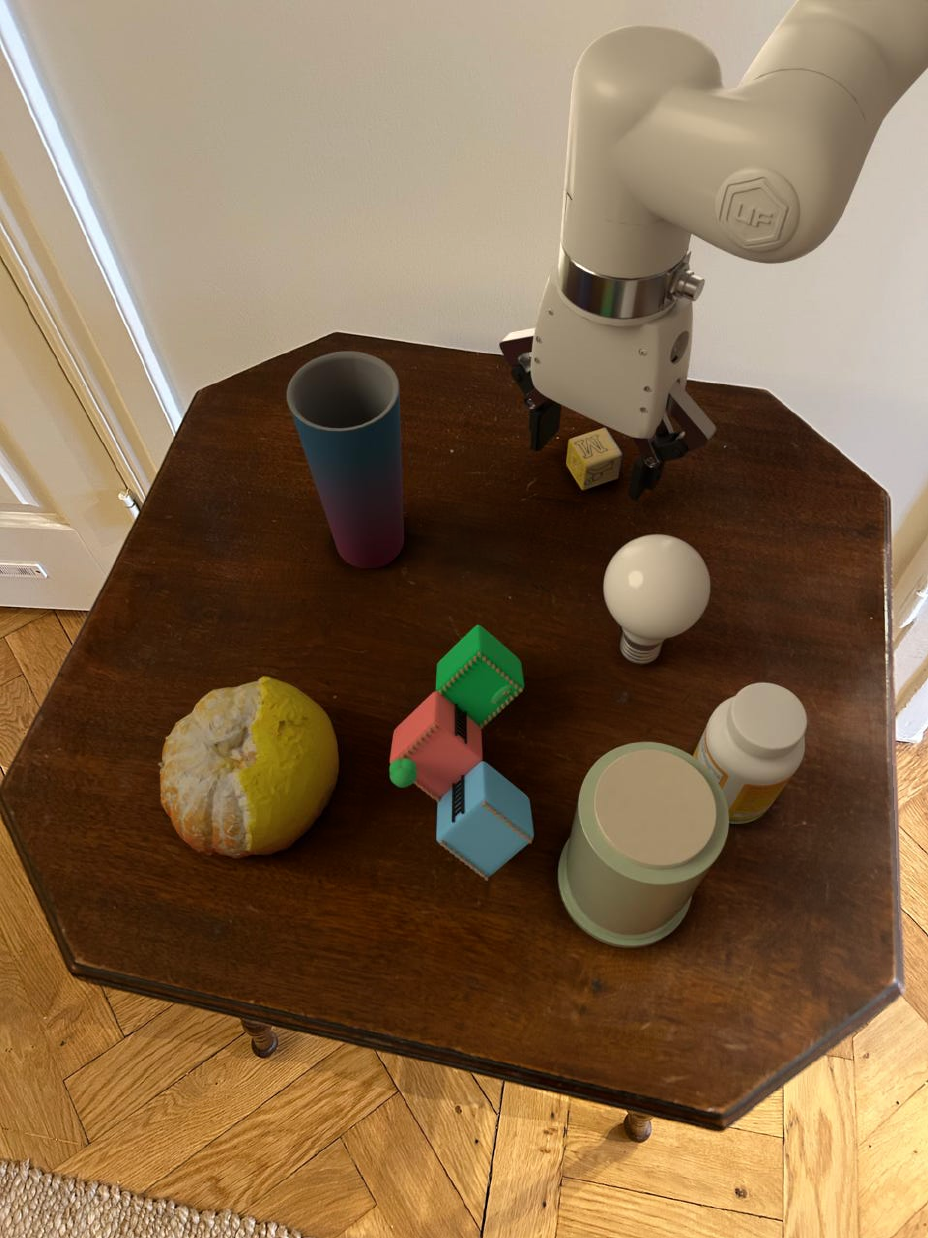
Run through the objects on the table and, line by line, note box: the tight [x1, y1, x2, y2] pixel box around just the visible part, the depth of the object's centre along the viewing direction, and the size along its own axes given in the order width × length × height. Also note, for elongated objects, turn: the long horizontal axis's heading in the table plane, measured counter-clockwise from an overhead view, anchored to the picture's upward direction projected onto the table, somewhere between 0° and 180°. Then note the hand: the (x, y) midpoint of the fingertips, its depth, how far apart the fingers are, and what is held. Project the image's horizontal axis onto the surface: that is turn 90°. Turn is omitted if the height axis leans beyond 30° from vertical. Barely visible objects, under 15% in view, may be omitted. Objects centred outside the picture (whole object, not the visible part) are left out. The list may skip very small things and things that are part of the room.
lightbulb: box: [602, 533, 712, 665], centre depth 57 cm, size 6×6×11 cm
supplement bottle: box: [692, 682, 808, 825], centre depth 52 cm, size 5×5×10 cm
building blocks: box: [388, 624, 535, 882], centre depth 54 cm, size 8×8×12 cm
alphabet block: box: [565, 427, 623, 491], centre depth 69 cm, size 3×3×3 cm
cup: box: [286, 351, 405, 569], centre depth 61 cm, size 7×7×15 cm
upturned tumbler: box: [557, 741, 730, 949], centre depth 48 cm, size 8×8×12 cm
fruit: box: [157, 675, 340, 859], centre depth 55 cm, size 11×10×8 cm
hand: (592, 462), depth 69 cm, fingers open, 8 cm apart
